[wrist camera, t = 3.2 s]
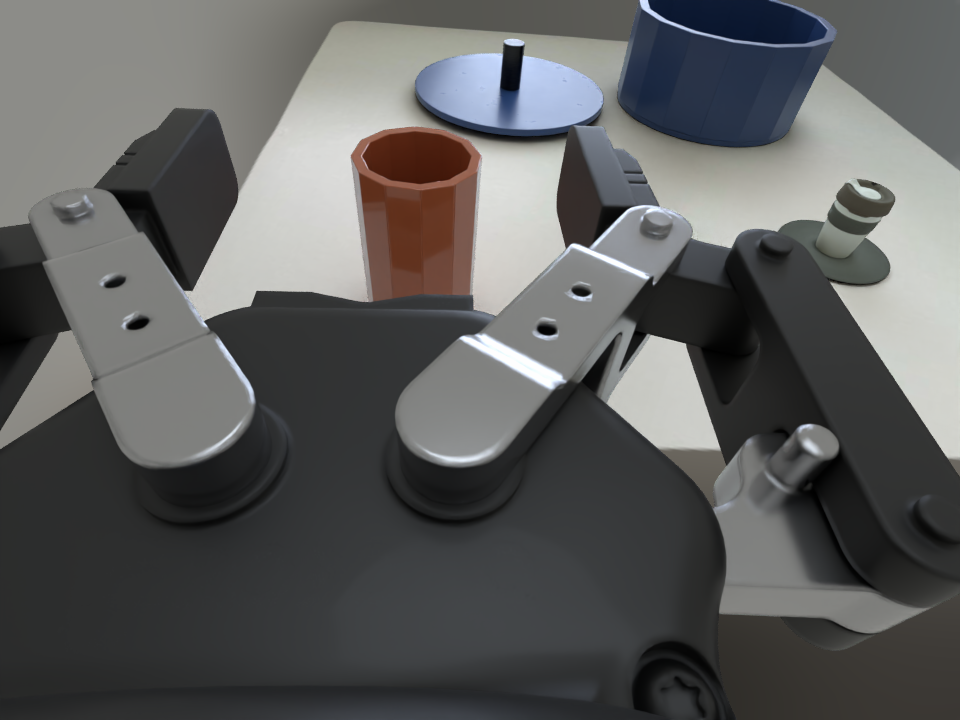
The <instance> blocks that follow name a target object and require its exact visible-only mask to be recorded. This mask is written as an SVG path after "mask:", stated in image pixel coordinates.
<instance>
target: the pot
mask: <svg viewBox="0 0 960 720" xmlns="http://www.w3.org/2000/svg"><path fill="white" fill-rule="evenodd" d="M836 33H837V30H836V29H835V28H834V27H833V26H832V25H831V24H830V23H829V22H828V21H827V20H825V19H824V18H822V17H819V16H817V15H815V14H813V13H811V12H809V11H807V10H805V9H803V8H800V7H797V6H794V5H791V4H787V3H784V2H781V1H777V0H639V2H638V6H637V10H636V14H635V19H634V22H633V26H632V31H631V35H630V39H629V43H628V47H627V51H626V55H625V59H624V63H623V67H622V72H621V76H620V80H619V84H618V89H619V90H618V100H619V103H620V105H621V106H622V107H623V109H624V110H625V111H626V112H627V113H628V114H630V115H631V116H632V117H634V118H635V119H636V120H638V121H640V122H641V123H643V124H645V125H647V126H649V127H651V128H653V129H655V130H658V131H660V132H663V133H665V134H668V135H671V136H674V137H677V138H681V139H685V140H689V141H693V142H698V143H703V144H709V145H717V146H727V147H750V146H759V145H764V144H769V143H772V142H775V141H777V140H779V139H781V138H782V137H783V136H784V135H786V133H787V132H788V131H789V129H790V127H791V125H792V123H793V121H794V119H795V117H796V115H797V113H798V111H799V109H800V107H801V105H802V103H803V101H804V99H805V97H806V95H807V93H808V91H809V89H810V87H811V85H812V83H813V81H814V79H815V77H816V75H817V73H818V71H819V69H820V67H821V65H822V63H823V61H824V59H825V57H826V55H827V53H828V51H829V49H830V47H831V45H832V43H833V41H834V39H835V36H836Z"/></svg>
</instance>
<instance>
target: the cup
mask: <svg viewBox="0 0 960 720" xmlns="http://www.w3.org/2000/svg"><path fill="white" fill-rule="evenodd" d="M351 163H352V171H353V179H354V188H355V196H356V204H357V212H358V220H359V228H360V237H361V245H362V253H363V261H364V269H365V277H366V285H367V294H368V302H373V301H379V300H386V299H392V298H399V297H405V296H412V295H418V294H442V295H472V292H473V278H474V264H475V249H476V235H477V221H478V206H479V192H480V178H481V163H482V156H481V154H480V153H479V152H478V150H477V149H476V148H475V147H474V145H473V144H472V143H471V142H470V141H469V140H467V139H465V138H462V137H460V136H457V135H455V134H453V133H450V132H448V131H445V130H439V129H431V128H423V127H405V128H396V129H387V130H383V131H380V132H378V133H376V134H374V135H371V136H369V137H367V138H365V139H362V140H361V141H360V142H359V144H358V145H357V147H356V148H355V150H354V151H353V153H352V155H351Z"/></svg>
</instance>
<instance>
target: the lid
mask: <svg viewBox="0 0 960 720" xmlns="http://www.w3.org/2000/svg"><path fill="white" fill-rule="evenodd" d="M524 47H525V43H524V42H523V41H521V40H517V39H507V40H505V41H504V45H503V54H471V55H462V56H456V57H452V58H447V59H444V60H441V61H438V62H436V63H433V64H431V65H429V66H428V67H426V68H425V69H424V70H422V71H421V72H420V73H419V75H418V76H417V79H416V81H415V92H416V96H417V98H418V99H419V101H420V103H421V104H422V105H423V106H424V107H425V108H426V109H428V110H429V111H430V112H432V113H433V114H435V115H437V116H438V117H440V118H442V119H444V120H447V121H449V122H451V123H454V124H457V125H459V126H463V127H466V128H469V129H473V130H478V131H482V132H487V133H494V134H501V135H511V136H542V135H553V134H559V133H564V132H568V131H569V129H570V127H571V126H572V125H577V126H585V125H587V124H589V123H591V122H592V121H593V120H595V119H596V118H597V117H598V115H599V114H600V112H601V110H602V107H603V101H604V98H603V94H602V92H601V90H600V88H599V87H598V86H597V85H596V84H595V83H594V82H593V81H592V80H591V79H589V78H588V77H586V76H585V75H583V74H581V73H579V72H578V71H575V70H573V69H571V68H569V67H566V66H563V65H560V64H557V63H554V62H551V61H547V60H543V59H538V58H533V57H528V56H524Z"/></svg>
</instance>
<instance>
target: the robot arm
mask: <svg viewBox="0 0 960 720" xmlns="http://www.w3.org/2000/svg"><path fill="white" fill-rule="evenodd" d="M124 154H125V155H122V156H121V157H120V158H119V159H118V160H117V162H116V165H113V166H112V167H111V168H110V169H109V171H108V172H107V173H106V174H105V175H104V176H103V177H102V179H101V180H100V181H99V182H98V183H97V184H96V185H95V187H94V188H79V189H72V190H67V191H63V192H59V193H56V194H53V195H51V196H49V197H46V198H44V199H43V200H41V201H39V202H38V203H37V204H35V205H34V206H33V207H32V208H31V210H30V212H29V214H28V218H29V221H30V223H29V224H23V225H16V226H8V227H2V228H0V430H1V428H2V427H3V425H4V424H5V422H6V420H7V419H8V417H9V415H10V414H11V412H12V411H13V409H14V407H15V406H16V404H17V402H18V401H19V399H20V398H21V396H22V394H23V393H24V391H25V389H26V388H27V386H28V385H29V383H30V381H31V380H32V378H33V376H34V375H35V373H36V372H37V370H38V368H39V367H40V365H41V363H42V362H43V360H44V358H45V357H46V355H47V353H48V352H49V350H50V349H51V347H52V345H53V344H54V342H55V340H56V339H57V336H58V333H59V332H64V331H69V330H72V331H73V334H74V336H75V338H76V340H77V343H78V345H79V347H80V349H81V351H82V354H83V356H84V358H85V361H86V363H87V365H88V367H89V369H90V372H91V374H92V377H93V380H92V381H91V382H92V386H93V389H94V390H93V391H91V392H90V393H88V394H87V395H85V396H84V397H82V398H80V399H79V400H77V401H76V402H74V403H72V404H71V405H69V406H68V407H67V408H65V409H63V410H62V411H60V412H58V413H57V414H55V415H54V416H52V417H51V418H49V419H47V420H46V421H44V422H43V423H41V424H39V425H38V426H36V427H35V428H33V429H32V430H30V431H28V432H27V433H25V434H24V435H22V436H20V437H19V438H17V439H16V440H14V441H13V442H11V443H9V444H8V445H6V446H5V447H3V448H2V449H0V720H736V718H735V715H734V713H733V711H732V708H731V706H730V704H729V701H728V698H727V696H726V693H725V690H724V686H723V682H722V678H721V672H720V665H719V654H718V618H719V614H736V615H759V616H760V615H761V616H780V617H781V619H782V620H783V621H784V623H785V624H786V625H787V626H788V627H789V628H790V629H791V630H792V631H793V632H794V633H795V634H796V635H798V636H799V637H800V638H802V639H803V640H805V641H806V642H808V643H810V644H812V645H814V646H816V647H819V648H822V649H827V650H843V649H846V648H849V647H851V646H853V645H855V644H857V643H859V642H861V641H864V640H866V639H868V638H870V637H872V636H874V635H876V634H878V633H880V632H882V631H884V630H886V629H888V628H891V627H893V626H894V625H897V624H899V623H901V622H903V621H905V620H907V619H909V618H911V617H913V616H915V615H917V614H920V613H922V612H924V611H926V610H928V609H930V608H932V607H934V606H936V605H938V604H940V603H942V602H945V601H947V600H949V599H951V598H953V597H955V596H957V595H959V594H960V477H959V475H958V474H957V472H956V471H955V469H954V468H953V466H952V465H951V463H950V462H949V460H948V459H947V457H946V456H945V454H944V453H943V451H942V450H941V448H940V447H939V445H938V444H937V442H936V441H935V439H934V438H933V436H932V435H931V433H930V432H929V430H928V429H927V427H926V426H925V424H924V423H923V421H922V420H921V418H920V417H919V415H918V414H917V412H916V411H915V409H914V408H913V406H912V405H911V403H910V402H909V400H908V399H907V397H906V396H905V394H904V393H903V391H902V390H901V388H900V387H899V385H898V384H897V382H896V381H895V379H894V378H893V376H892V375H891V373H890V372H889V370H888V369H887V367H886V366H885V364H884V363H883V361H882V360H881V358H880V357H879V355H878V354H877V352H876V351H875V349H874V348H873V346H872V345H871V343H870V342H869V341H868V339H867V338H866V336H865V335H864V333H863V332H862V330H861V329H860V327H859V326H858V324H857V323H856V321H855V320H854V318H853V317H852V315H851V314H850V312H849V311H848V309H847V308H846V306H845V305H844V303H843V302H842V300H841V299H840V297H839V296H838V294H837V293H836V291H835V290H834V288H833V287H832V285H831V284H830V282H829V281H828V279H827V278H826V276H825V275H824V273H823V272H822V270H821V269H820V267H819V266H818V264H817V263H816V261H815V260H814V258H813V257H812V255H811V254H810V252H809V251H808V250H807V249H806V248H805V247H804V246H803V245H802V244H801V243H799V242H798V241H796V240H795V239H793V238H791V237H789V236H787V235H784V234H782V233H779V232H775V231H771V230H764V229H752V230H747V231H744V232H742V233H740V234H739V235H738V236H737V238H736V240H735V242H734V244H733V246H732V248H727V247H722V246H717V245H713V244H708V243H704V242H700V241H697V240H694V239H692V238H691V237H692V233H693V230H692V227H691V224H690V223H689V222H688V221H687V220H686V219H685V218H684V217H682V216H681V215H680V214H678V213H676V212H674V211H671V210H669V209H666V208H662V207H660V206H659V204H658V202H657V200H656V198H655V196H654V194H653V192H652V190H651V188H650V186H649V184H647V183H648V182H647V180H646V177H645V175H644V174H643V171H642V169H641V167H640V165H639V163H638V161H637V160H636V159H635V158H634V157H632V156H631V155H630V154H629V153H627V152H626V151H625V150H623V149H613V147H612V144H611V142H610V140H609V138H608V135H607V133H606V131H605V129H604V127H601V126H577V125H572V126H571V127H570V129H569V132H568V136H567V141H566V146H565V152H564V157H563V163H562V168H561V174H560V179H559V185H558V191H557V214H558V218H559V222H560V226H561V230H562V234H563V238H564V242H565V247H566V250H565V251H564V252H563V253H562V254H561V255H560V256H559V257H558V258H557V259H555V260H554V261H553V262H552V263H551V264H550V265H549V266H548V267H547V268H546V269H545V270H544V271H543V272H542V273H541V274H540V275H539V276H538V277H537V278H536V279H535V280H534V281H533V282H532V283H531V284H529V285H528V286H527V287H526V288H525V289H524V290H523V291H522V292H521V293H520V294H519V295H518V296H517V297H516V298H515V299H514V300H513V301H512V302H511V303H510V304H509V305H508V306H507V307H506V308H505V309H503V310H502V311H501V312H500V313H499V314H498V315H497V316H494V315H491V314H488V313H485V312H481V311H477V310H473V295H442V294H418V295H412V296H405V297H399V298H392V299H386V300H379V301H373V302H358V301H353V300H348V299H343V298H338V297H333V296H328V295H323V294H318V293H313V292H282V291H256V294H255V297H254V299H253V302H252V305H251V306H250V307H245V308H240V309H236V310H232V311H229V312H226V313H223V314H219V315H217V316H215V317H212V318H210V319H207V320H205V321H203V319H202V318H201V316H200V315H199V313H198V312H197V310H196V309H195V307H194V306H193V305H192V303H191V302H190V300H189V299H188V297H187V296H186V294H185V293H184V291H193V289H194V287H195V285H196V283H197V281H198V279H199V277H200V275H201V273H202V271H203V269H204V267H205V265H206V263H207V261H208V259H209V257H210V255H211V253H212V251H213V249H214V247H215V245H216V243H217V241H218V239H219V237H220V235H221V233H222V231H223V229H224V227H225V225H226V223H227V221H228V219H229V217H230V215H231V213H232V211H233V209H234V207H235V205H236V203H237V200H238V184H237V178H236V174H235V171H234V168H233V164H232V161H231V158H230V154H229V151H228V148H227V145H226V141H225V138H224V135H223V131H222V128H221V124H220V122H219V119H218V117H217V115H216V114H215V112H214V111H212V110H209V109H185V108H176V109H174V110H173V111H172V112H171V113H170V114H169V115H168V117H167V118H166V119H165V120H164V121H163V123H162V124H161V125H160V126H159V128H157V130H154V131H152V132H150V133H148V134H146V135H144V136H142V137H140V138H139V139H137V140H135V141H134V142H133V143H132V144H131V145H130V147H129V148H128V149H127V150H126V151H125V152H124ZM650 335H654V336H658V337H662V338H666V339H670V340H674V341H678V342H682V343H686V347H687V350H688V353H689V356H690V359H691V362H692V365H693V368H694V371H695V374H696V377H697V380H698V383H699V386H700V389H701V392H702V395H703V398H704V401H705V404H706V407H707V410H708V413H709V416H710V419H711V422H712V425H713V427H714V430H715V433H716V436H717V439H718V442H719V445H720V448H721V451H722V454H723V457H724V460H725V463H726V466H727V467H726V468H725V469H724V470H723V472H722V473H721V474H720V476H719V477H718V478H717V480H716V482H715V484H714V488H713V499H714V506H715V507H713V508H712V506H711V505H710V503H709V501H708V500H707V498H706V497H705V495H704V494H703V492H702V491H701V490H700V488H699V487H698V486H697V485H696V484H695V482H694V481H693V480H692V479H691V478H690V477H689V476H688V475H687V474H686V473H685V472H684V471H683V470H682V469H680V468H679V467H678V466H677V465H676V464H675V463H674V462H673V461H671V460H670V459H669V458H668V457H667V456H666V455H665V454H663V453H662V452H661V451H660V450H659V449H658V448H657V447H655V446H654V445H653V444H652V443H651V442H650V441H648V440H647V439H646V438H645V437H644V436H643V435H642V434H640V433H639V432H638V431H637V430H636V429H635V428H634V427H632V426H631V425H630V424H629V423H628V422H627V421H626V420H624V419H623V418H622V417H621V416H620V415H619V414H618V413H616V412H615V411H614V410H613V409H612V408H611V407H610V406H608V405H607V404H606V403H607V401H608V399H609V397H610V395H611V394H612V392H613V390H614V388H615V387H616V385H617V384H618V382H619V381H620V379H621V378H622V377H623V375H624V374H625V372H626V371H627V369H628V368H629V367H630V365H631V364H632V362H633V361H634V359H635V358H636V357H637V355H638V354H639V352H640V351H641V349H642V348H643V346H644V345H645V344H646V342H647V341H648V339H649V337H650Z"/></svg>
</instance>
